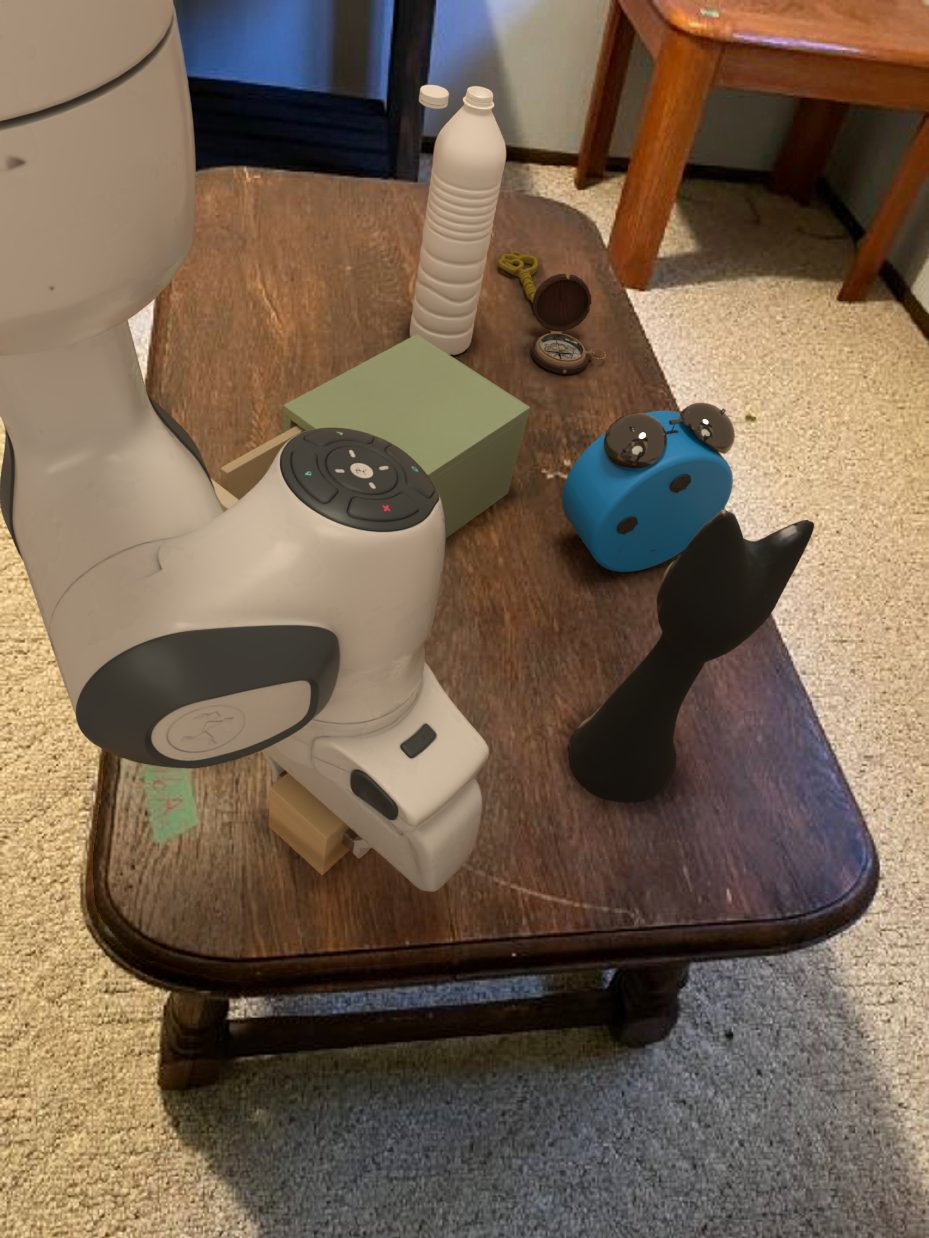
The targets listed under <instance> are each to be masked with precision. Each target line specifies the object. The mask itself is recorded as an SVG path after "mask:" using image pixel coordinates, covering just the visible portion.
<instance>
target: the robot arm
mask: <svg viewBox="0 0 929 1238" xmlns="http://www.w3.org/2000/svg"><path fill="white" fill-rule="evenodd" d="M177 17H178V16H177V11H176V8H175V4H174V0H0V419H1V421H2V423H3V427H4V431H5V432H4V434H5V435H4V436H5V437H4V450H3V457H2V462H1V469H0V511H1V514H2V518H3V521H4V524H5V526H6V529H7V530H8V532H9V535H10V537H11V539H12V542H13V545H14V546H15V548H16V551H17V554H18V555H19V557H20V559H21V560H22V562H23V565H24V568H25V571H26V574H27V577H28V579H29V582H30V586H31V589H32V592H33V595H34V598H35V601H36V603H37V607H38V610H39V613H40V616H41V619H42V623H43V625H44V628H45V631H46V634H47V636H48V637H47V638H48V640H49V643H50V646H51V650H52V652H53V655H54V657H55V662H56V664H57V667H58V672H59V674H60V677H61V680H62V682H63V685H64V688H65V689H66V690H65V691H66V693H67V696H68V699H69V701H70V702H69V703H70V704H71V707H72V709H73V713H74V716H75V720H76V723H77V727H78V728H79V730H80V732H81V733H82V734H83V736H84V737H85V738H86V739H87V740H88V741H89V742H91V743H92V744H93V745H94V746H96V747H98V748H99V749H101V750H103V751H105V752H107V753H109V754H111V755H113V756H115V757H119V758H121V759H124V760H127V761H131V762H134V763H137V764H143V765H148V766H154V767H161V768H162V767H163V768H172V769H191V770H192V769H202V768H203V769H204V768H209V767H213V766H217V765H221V764H225V763H230V762H233V761H236V760H239V759H242V758H246V757H249V756H250V755H254V754H255V753H258V752H262V754H263V756H264V758H265V760H266V762H267V764H268V766H269V768H270V769H271V781H272V783H273V784H275V783H276V782H277V781H278V780H280V779H281V778H282V777H283V776H284V775H286V774H287V773H289V774H290V775H291V776H292V777H293V778H294V779H296V780H297V781H298V782H299V783H300V784H301V785H302V786H303V787H305V788H306V789H307V790H308V791H309V792H310V793H311V794H312V795H314V796H315V797H316V798H317V799H318V800H319V801H320V802H321V803H323V804H324V805H325V806H326V807H327V808H328V809H329V810H330V811H332V812H333V813H334V814H335V815H336V816H337V817H338V818H339V819H341V820H342V821H343V822H344V823H345V824H346V825H347V826H348V827H350V828H349V829H348V830H346V831H345V832H344V834H343V839H344V840H343V841H342V844H344V845H345V846H346V847H347V848H348V849H349V852H351V853H352V854H353V855H354V856H355V857H356V858H357V859H362V857H364V855H365V854H367V853H368V852H369V851H370V850H371V849H373V850H375V852H376V853H377V854H379V855H380V856H381V857H382V858H383V859H384V860H385V861H387V862H388V863H389V864H390V865H391V866H392V867H393V868H395V869H396V870H397V871H398V872H399V873H400V874H401V875H402V876H404V877H405V878H406V879H407V880H408V881H409V882H410V883H411V884H412V885H413V886H414V887H415V888H417V889H418V890H420V891H423V892H427V893H429V892H430V893H433V892H437V891H439V890H440V889H441V888H442V887H444V886H445V884H446V883H448V881H450V880H451V878H452V877H454V876H455V875H456V873H458V871H459V870H460V869H461V868H462V867H463V866H464V864H466V862H467V861H468V860H469V858H470V856H471V855H472V852H473V851H474V848H475V844H476V842H477V838H478V833H479V829H480V824H481V819H482V810H483V795H482V790H481V786H480V784H479V781H478V780H477V777H476V776H477V775H478V774H479V773H480V772H481V770H482V769H483V768H484V766H485V765H486V763H487V762H488V759H489V756H490V749H489V746H488V744H487V742H486V741H485V739H484V738H483V736H482V735H481V734H480V733H479V732H478V730H477V729H475V727H474V726H473V725H472V724H471V723H470V722H469V720H468V719H467V718H466V716H465V715H464V714H463V713H462V712H461V711H460V710H459V708H458V707H457V706H456V705H455V704H454V702H453V701H452V699H451V698H450V697H449V696H448V694H447V693H446V691H445V690H444V688H443V687H442V685H441V684H440V682H439V680H438V679H437V677H436V676H435V674H434V672H433V670H432V669H431V667H430V666H429V664H428V663H427V662H426V649H425V643H424V642H425V641H426V639H427V637H428V635H429V634H430V632H431V630H432V628H433V626H434V622H435V617H436V613H437V609H438V604H439V600H440V596H441V595H440V594H441V588H442V584H443V576H444V566H445V555H446V539H445V519H444V511H443V506H442V501H441V498H440V495H439V493H438V491H437V489H436V487H435V485H434V484H433V482H432V481H431V479H430V478H429V476H428V475H427V474H426V472H425V471H424V470H423V469H422V468H421V467H420V465H419V464H418V463H417V462H416V461H415V460H414V459H413V458H411V457H410V456H409V455H408V454H407V453H405V452H404V451H403V450H401V449H400V448H399V447H397V446H395V445H394V444H392V443H390V442H388V441H386V440H384V439H382V438H380V437H377V436H374V435H372V434H369V433H365V432H362V431H357V430H353V429H347V428H334V427H329V428H317V429H312V430H308V431H305V432H302V433H300V434H298V435H296V436H294V437H293V438H291V439H290V440H289V441H287V442H286V443H285V444H284V445H283V447H282V448H281V449H280V451H279V452H278V454H277V456H276V457H275V459H274V461H273V463H272V464H271V466H270V468H269V469H268V471H267V473H266V474H265V475H264V477H263V478H262V479H261V480H260V481H259V482H258V484H257V485H256V486H255V487H254V488H252V489H251V490H250V491H249V492H248V493H247V494H246V495H245V496H244V497H242V498H241V499H240V500H239V501H238V502H237V503H235V504H234V505H233V506H232V507H231V508H229V509H228V510H226V511H225V510H224V508H223V506H222V504H221V502H220V500H219V499H218V497H217V495H216V493H215V489H214V486H213V483H212V481H211V479H212V477H211V476H210V473H209V471H208V468H207V466H206V463H205V461H204V459H203V456H202V454H201V451H200V449H199V448H198V445H197V443H196V442H195V441H194V439H193V437H192V436H191V435H190V434H189V432H187V431H186V430H185V428H184V427H183V426H182V425H181V424H180V423H179V422H178V421H177V420H176V419H175V418H174V417H173V416H172V415H170V414H169V413H168V412H167V411H166V410H165V409H164V408H163V407H162V406H161V405H160V404H159V403H158V401H155V399H154V398H153V397H152V396H151V395H150V394H149V393H148V390H147V388H146V384H145V381H144V377H143V373H142V369H141V365H140V360H139V358H138V357H139V356H138V354H137V349H136V346H135V343H134V342H135V341H134V339H133V335H132V331H131V327H130V324H129V320H130V319H132V318H133V317H135V316H136V315H137V314H139V313H140V312H141V311H143V310H144V309H145V308H146V307H147V306H148V305H150V304H151V303H152V302H153V301H154V300H155V299H157V297H158V296H159V295H160V294H161V293H162V292H163V291H164V290H165V289H166V288H167V287H168V286H169V284H171V282H172V280H173V279H174V278H175V276H176V275H177V274H178V272H179V271H180V269H181V268H182V267H183V265H184V263H185V261H186V260H187V258H188V256H189V255H190V253H191V251H192V249H193V246H194V243H195V238H196V237H195V236H196V211H197V210H196V209H197V208H196V207H197V206H196V205H197V175H196V174H197V167H196V165H197V164H196V144H195V142H196V141H195V129H194V118H193V110H192V101H191V100H192V99H191V93H190V88H189V80H188V73H187V68H186V61H185V54H184V50H183V45H182V40H181V34H180V28H179V23H178V18H177Z"/></svg>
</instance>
